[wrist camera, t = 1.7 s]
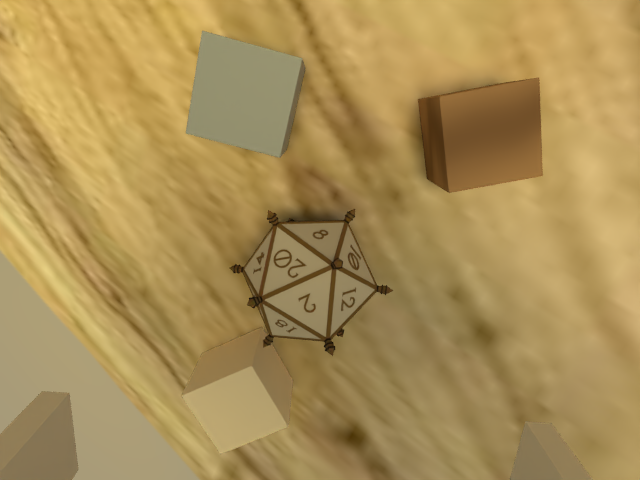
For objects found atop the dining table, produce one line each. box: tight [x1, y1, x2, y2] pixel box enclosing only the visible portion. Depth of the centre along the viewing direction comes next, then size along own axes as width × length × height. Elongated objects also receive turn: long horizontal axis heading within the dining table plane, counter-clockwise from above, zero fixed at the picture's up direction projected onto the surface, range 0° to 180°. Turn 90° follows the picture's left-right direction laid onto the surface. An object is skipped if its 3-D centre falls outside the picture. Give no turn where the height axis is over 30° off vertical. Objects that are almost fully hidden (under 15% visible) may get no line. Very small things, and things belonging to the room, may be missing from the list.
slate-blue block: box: [186, 31, 305, 158], centre depth 24 cm, size 5×5×5 cm
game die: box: [230, 209, 393, 356], centre depth 25 cm, size 9×8×10 cm
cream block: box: [181, 327, 293, 454], centre depth 29 cm, size 5×5×5 cm
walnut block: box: [418, 78, 543, 193], centre depth 25 cm, size 5×5×5 cm
